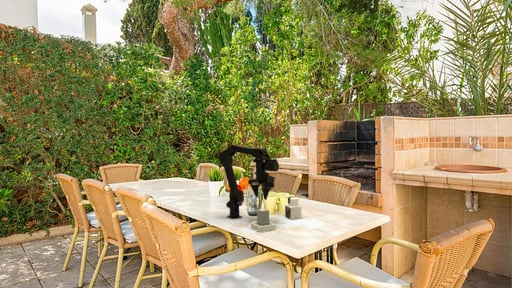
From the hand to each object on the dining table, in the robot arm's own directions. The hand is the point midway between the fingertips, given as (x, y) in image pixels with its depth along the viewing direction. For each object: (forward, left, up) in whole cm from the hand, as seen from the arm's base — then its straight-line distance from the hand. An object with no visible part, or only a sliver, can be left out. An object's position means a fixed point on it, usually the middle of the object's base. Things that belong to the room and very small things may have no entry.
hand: (261, 198), depth 195 cm
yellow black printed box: (+3, +20, -13) cm, 24 cm away
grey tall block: (+13, -7, -12) cm, 19 cm away
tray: (+13, -7, -13) cm, 20 cm away
